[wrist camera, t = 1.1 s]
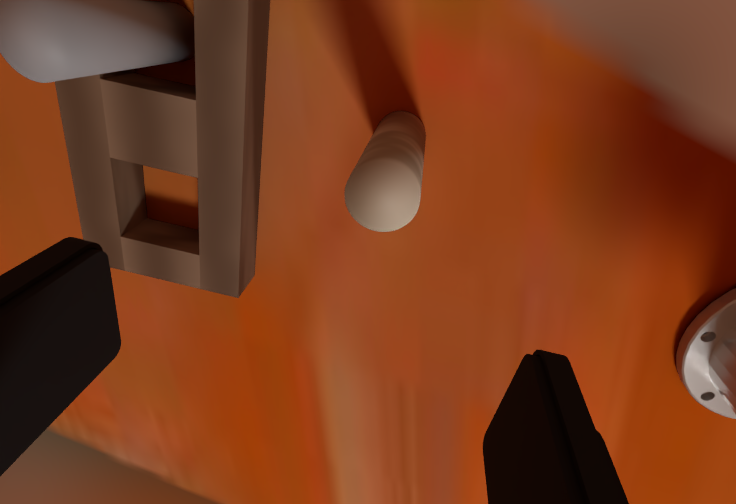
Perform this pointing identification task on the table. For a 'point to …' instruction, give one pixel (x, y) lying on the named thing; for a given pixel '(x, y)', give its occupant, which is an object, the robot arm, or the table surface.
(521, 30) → the table surface
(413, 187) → the birch peg
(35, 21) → the grey peg
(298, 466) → the table surface
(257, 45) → the walnut hole block
